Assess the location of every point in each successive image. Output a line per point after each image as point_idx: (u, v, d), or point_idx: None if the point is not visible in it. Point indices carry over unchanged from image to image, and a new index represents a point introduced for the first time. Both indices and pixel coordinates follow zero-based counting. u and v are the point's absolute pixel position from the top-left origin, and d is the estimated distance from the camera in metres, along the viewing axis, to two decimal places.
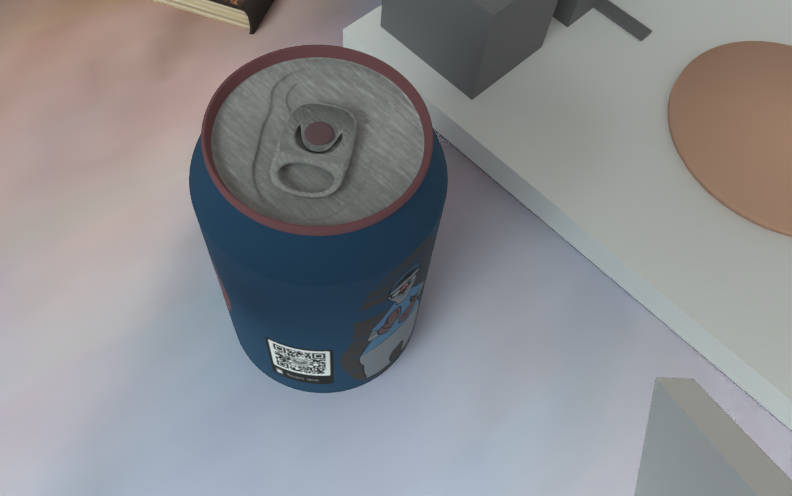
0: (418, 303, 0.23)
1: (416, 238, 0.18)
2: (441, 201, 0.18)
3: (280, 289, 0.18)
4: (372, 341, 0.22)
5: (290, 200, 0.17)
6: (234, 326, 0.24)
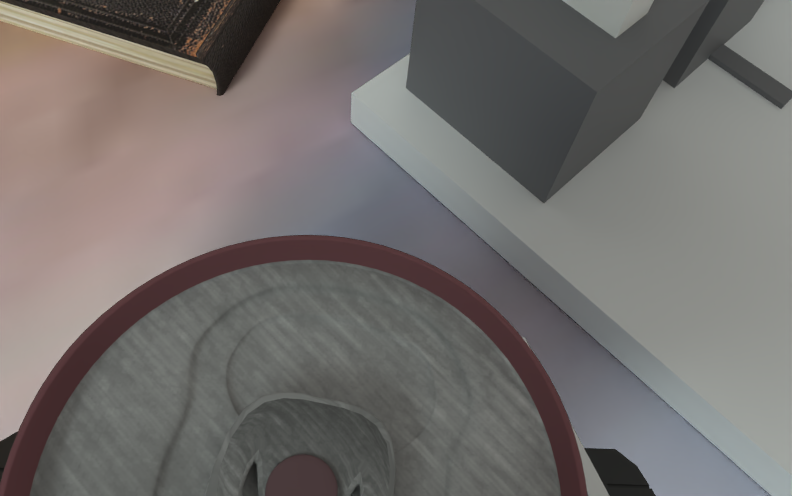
0: None
1: None
2: None
3: None
4: None
5: None
6: None
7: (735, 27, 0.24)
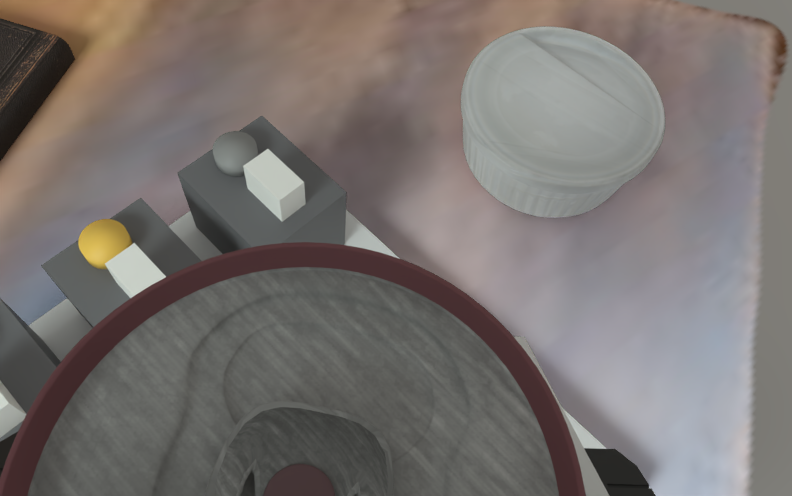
0: None
1: None
2: None
3: None
4: None
5: None
6: None
7: None
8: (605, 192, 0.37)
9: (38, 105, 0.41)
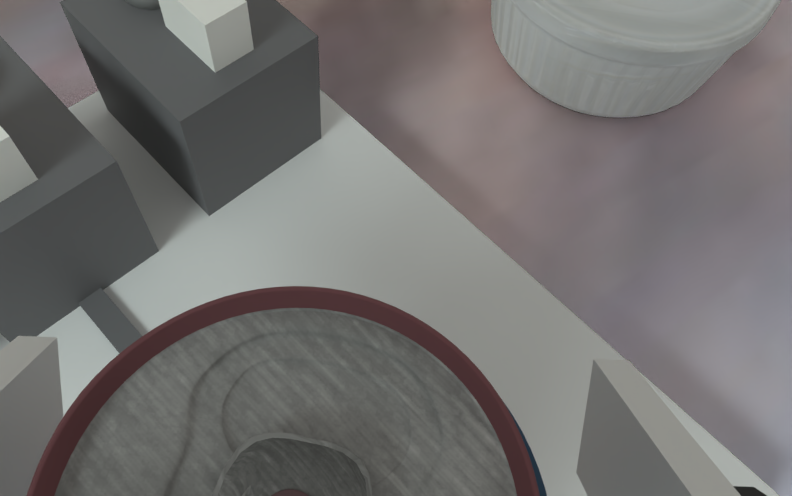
0: None
1: None
2: None
3: None
4: None
5: None
6: None
7: (103, 273, 0.21)
8: (698, 71, 0.26)
9: None
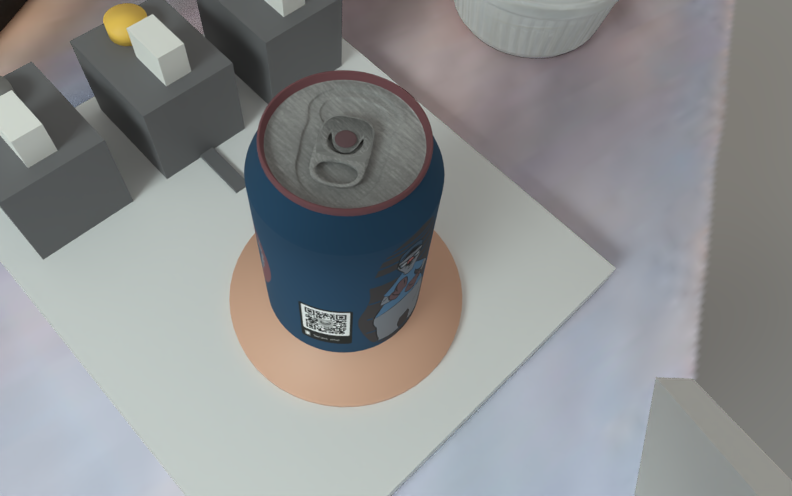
0: (421, 277, 0.29)
1: (419, 220, 0.23)
2: (439, 192, 0.24)
3: (315, 258, 0.23)
4: (384, 305, 0.27)
5: (325, 190, 0.22)
6: (270, 296, 0.30)
7: (215, 137, 0.36)
8: (581, 24, 0.41)
9: None
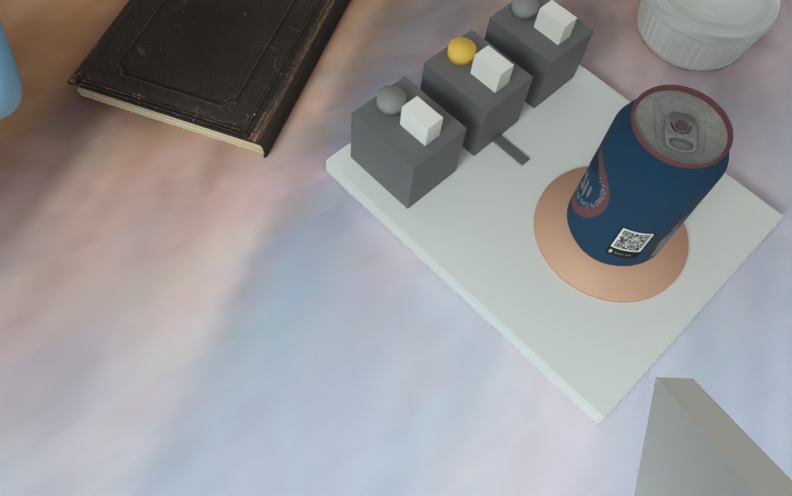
0: None
1: (722, 173, 0.40)
2: (728, 157, 0.40)
3: (662, 195, 0.39)
4: (672, 230, 0.43)
5: (675, 154, 0.39)
6: (582, 228, 0.46)
7: (504, 127, 0.53)
8: (742, 47, 0.57)
9: None
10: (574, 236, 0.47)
